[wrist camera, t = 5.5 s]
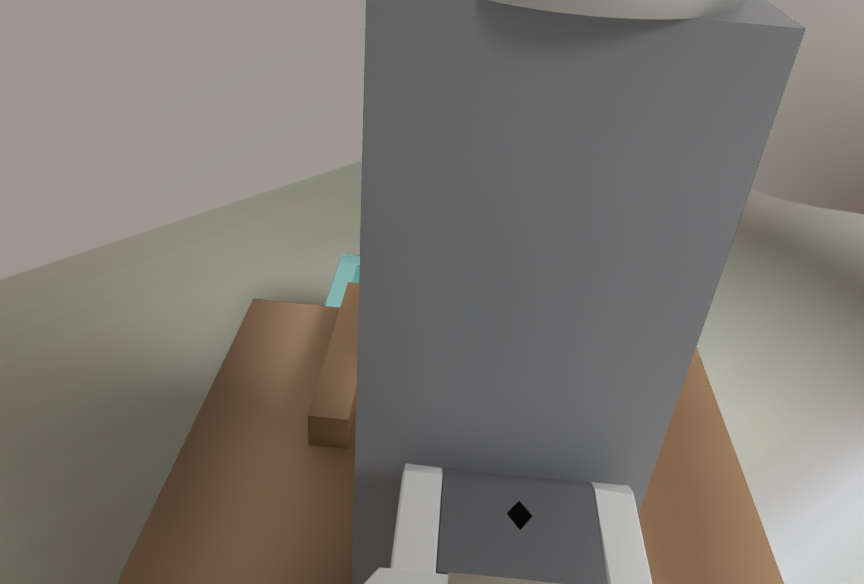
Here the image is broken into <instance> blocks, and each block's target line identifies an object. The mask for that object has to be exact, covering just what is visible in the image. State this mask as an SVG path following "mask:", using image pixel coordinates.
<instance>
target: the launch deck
mask: <svg viewBox="0 0 864 584" xmlns="http://www.w3.org/2000/svg"><path fill="white" fill-rule="evenodd" d="M358 313H359V283H354V282H348V283H347V286H346V290H345V293H344V296H343V300H342V303H341V306H340V307H330V306H320V305H310V304H300V303H291V302H281V301H271V300H261V299H253V301H252V303H251V305H250V307H249V309H248V312H247V314H246V316H245V318H244V320H243V322H242V324H241V326H240V328H239V330H238V332H237V334H236V337H235V339H234V341H233V343H232V345H231V347H230V349H229V351H228V353H227V355H226V357H225V359H224V362H223V364H222V366H221V368H220V370H219V372H218V374H217V376H216V378H215V380H214V382H213V385H212V387H211V389H210V391H209V393H208V395H207V397H206V399H205V401H204V403H203V405H202V407H201V410H200V412H199V414H198V416H197V418H196V420H195V422H194V424H193V426H192V428H191V430H190V432H189V435H188V437H187V439H186V441H185V443H184V445H183V447H182V449H181V451H180V453H179V455H178V457H177V460H176V462H175V464H174V466H173V468H172V470H171V472H170V474H169V476H168V478H167V480H166V482H165V485H164V487H163V489H162V491H161V493H160V495H159V497H158V499H157V501H156V503H155V505H154V508H153V510H152V512H151V514H150V516H149V518H148V520H147V522H146V524H145V526H144V528H143V530H142V533H141V535H140V537H139V539H138V541H137V543H136V545H135V547H134V549H133V551H132V553H131V555H130V558H129V560H128V562H127V564H126V566H125V568H124V570H123V572H122V574H121V576H120V578H119V580H118V583H117V584H352V558H353V517H354V477H355V436H356V395H357V354H358ZM638 517H639V522H640V527H641V532H642V536H643V541H644V546H645V551H646V555H647V560H648V565H649V570H650V574H651V579H652V584H784V583H783V580H782V577H781V574H780V572H779V569H778V566H777V564H776V561H775V558H774V556H773V553H772V550H771V547H770V545H769V542H768V539H767V537H766V534H765V531H764V529H763V526H762V523H761V520H760V518H759V515H758V512H757V510H756V507H755V504H754V502H753V499H752V496H751V493H750V491H749V488H748V485H747V483H746V480H745V477H744V475H743V472H742V469H741V466H740V464H739V461H738V458H737V456H736V453H735V450H734V448H733V445H732V442H731V439H730V437H729V434H728V431H727V429H726V426H725V423H724V421H723V418H722V415H721V412H720V410H719V407H718V404H717V402H716V399H715V396H714V393H713V391H712V388H711V385H710V383H709V380H708V377H707V375H706V372H705V369H704V366H703V364H702V361H701V358H700V356H699V353H698V350H697V348H695V351H694V354H693V357H692V360H691V363H690V366H689V369H688V372H687V375H686V377H685V380H684V383H683V386H682V389H681V392H680V395H679V398H678V401H677V404H676V406H675V409H674V412H673V415H672V418H671V421H670V424H669V427H668V430H667V433H666V435H665V438H664V441H663V444H662V447H661V450H660V453H659V456H658V459H657V462H656V465H655V467H654V470H653V473H652V476H651V479H650V482H649V485H648V488H647V491H646V494H645V496H644V499H643V502H642V505H641V508H640V511H639V514H638Z"/></svg>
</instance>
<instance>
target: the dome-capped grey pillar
mask: <svg viewBox="0 0 864 584" xmlns="http://www.w3.org/2000/svg"><path fill="white" fill-rule="evenodd" d="M804 32H805V28H804V27H803V26H801V25H800V24H799V23H797V22H796V21H795V20H793V19H792V18H790V17H789V16H787V15H786V14H785V13H784V12H782V11H781V10H780V9H778V8H777V7H775V6H774V5H773V4H771V3H770V2H769V1H767V0H366V28H365V68H364V69H365V70H364V72H365V73H364V109H363V110H364V111H363V150H362V151H363V152H362V191H361V231H360V272H359V313H358V354H357V395H356V436H355V477H354V517H353V558H352V584H364V583H365V582H366V581H367V580H368V579H369V578H370V577H371V575H372V574H373V573H374V572H375V571H376V570H377V569H378V568H390V566H391V559H392V551H393V543H394V536H395V528H396V521H397V513H398V505H399V498H400V490H401V482H402V475H403V470H404V467H405V464H406V463H408V464H416V465H424V466H432V467H441V468H442V474H443V468H444V467H446V468H454V469H462V470H470V471H478V472H486V473H494V474H502V475H510V476H516V475H518V476H530V477H542V478H553V479H565V480H576V481H588V482H589V483H591V482H595V483H606V484H617V485H628V486H629V487H630V488H631V490H632V491H633V494H634V498H635V503H636V508H637V513H638V514H639V511H640V508H641V505H642V502H643V499H644V496H645V494H646V491H647V488H648V485H649V482H650V479H651V476H652V473H653V470H654V467H655V465H656V462H657V459H658V456H659V453H660V450H661V447H662V444H663V441H664V438H665V435H666V433H667V430H668V427H669V424H670V421H671V418H672V415H673V412H674V409H675V406H676V404H677V401H678V398H679V395H680V392H681V389H682V386H683V383H684V380H685V377H686V375H687V372H688V369H689V366H690V363H691V360H692V357H693V354H694V351H695V348H696V346H697V343H698V340H699V337H700V334H701V331H702V328H703V325H704V322H705V319H706V316H707V314H708V311H709V308H710V305H711V302H712V299H713V296H714V293H715V290H716V287H717V285H718V282H719V279H720V276H721V273H722V270H723V267H724V264H725V261H726V258H727V256H728V253H729V250H730V247H731V244H732V241H733V238H734V235H735V232H736V229H737V227H738V224H739V221H740V218H741V215H742V212H743V209H744V206H745V203H746V200H747V198H748V195H749V192H750V189H751V185H752V183H753V180H754V177H755V174H756V171H757V168H758V166H759V163H760V160H761V156H762V154H763V151H764V148H765V145H766V142H767V139H768V136H769V134H770V131H771V128H772V125H773V122H774V119H775V116H776V113H777V110H778V108H779V105H780V101H781V99H782V96H783V93H784V90H785V87H786V84H787V81H788V79H789V75H790V73H791V70H792V67H793V64H794V61H795V58H796V55H797V52H798V49H799V47H800V43H801V41H802V38H803V35H804Z"/></svg>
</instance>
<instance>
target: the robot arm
mask: <svg viewBox="0 0 864 584" xmlns="http://www.w3.org/2000/svg"><path fill="white" fill-rule="evenodd" d="M364 584H652V579H651V574H650V570H649V565H648V560H647V555H646V551H645V546H644V541H643V536H642V532H641V527H640V522H639V517H638V513H637V508H636V503H635V498H634V494H633V491H632V490H631V488H630V487H629V486H628V485H617V484H606V483H595V482H591V483H589V482H588V481H576V480H565V479H553V478H542V477H530V476H518V475H516V476H510V475H502V474H494V473H486V472H478V471H470V470H462V469H454V468H446V467H444V468H443V474H442V468H441V467H432V466H424V465H416V464H408V463H406V464H405V467H404V470H403V475H402V482H401V490H400V498H399V505H398V513H397V521H396V528H395V536H394V543H393V551H392V559H391V566H390V568H378V569H377V570H376V571H375V572H374V573H373V574H372V575H371V577H370V578H369V579H368V580H367V581H366V582H365V583H364Z"/></svg>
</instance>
